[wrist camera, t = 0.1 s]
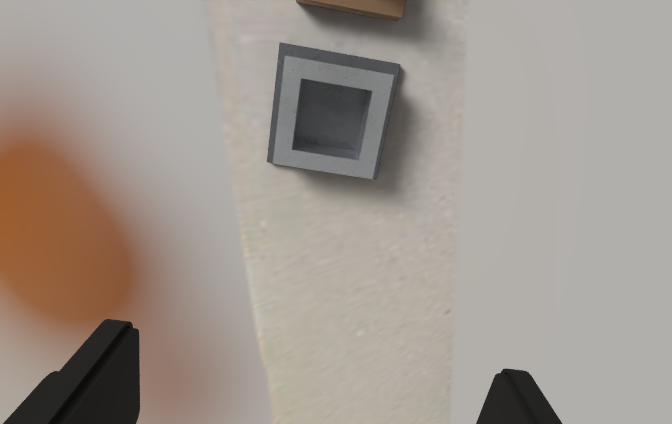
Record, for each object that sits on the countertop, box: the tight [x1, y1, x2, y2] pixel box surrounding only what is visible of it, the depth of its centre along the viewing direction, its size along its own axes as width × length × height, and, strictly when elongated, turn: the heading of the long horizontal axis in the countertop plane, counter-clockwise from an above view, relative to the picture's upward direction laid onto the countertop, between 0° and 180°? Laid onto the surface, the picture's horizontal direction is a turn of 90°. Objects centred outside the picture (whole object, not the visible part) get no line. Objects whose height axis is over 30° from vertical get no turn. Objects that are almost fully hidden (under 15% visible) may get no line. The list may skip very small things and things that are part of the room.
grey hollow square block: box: [267, 43, 400, 179], centre depth 36 cm, size 11×11×5 cm
